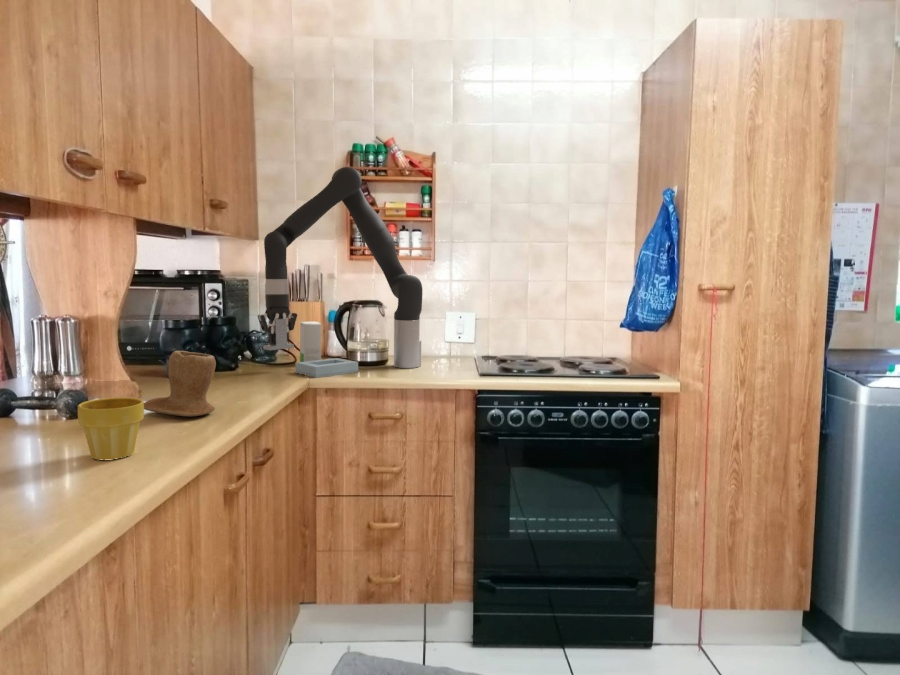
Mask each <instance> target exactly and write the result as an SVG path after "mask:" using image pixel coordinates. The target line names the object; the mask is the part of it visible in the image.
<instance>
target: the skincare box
mask: <svg viewBox="0 0 900 675" xmlns="http://www.w3.org/2000/svg"><path fill="white" fill-rule="evenodd" d="M299 323H300V324H299V325H300V326H299V330H300V331H299V332H300V333H299V335H300V337H299V362H306V361H315V360H322V331H323V330H322V323H320V322H318V321H317V320H316V321H300V322H299Z"/></svg>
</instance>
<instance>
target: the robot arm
mask: <svg viewBox="0 0 900 675" xmlns="http://www.w3.org/2000/svg"><path fill="white" fill-rule="evenodd" d="M362 181H363V180H362V175H361V173H360V172H359V171H358V170H357V169H355V168H354V167H350V166H343V167H341V168H339V169H337V170H335V171H334V172H333V174H332V176H331V179H330V181H329V183H327V185H326V186H325V187H324V188H323V189H322V190H321V191H319V193H317V194H316V195H315V196H313V197H312V198H311V199H309V200H308V201H307V202H304V203H303V204H302V205H301V206H300V207H299V208H297V209H296V210H295V211H294V212H292V213H291V214H290V215H289V216H288V217H287V218H286V219H285V220H284V221H283V222H282V224H280V225H279V226H278V227H277V228H275V229H274V230H272V231H271V232H270V231H269V233H267V234H266V235H265V237H264V239H263V246H264V258H265V266H264V269H265V270H264V272H265V274H264V277H265V280H264V281H265V283H264V295H265V296H264V298H265V312H264V313H262V314H258V315H257V319H258V322H259V325H260V328H261V331H262V332H264V333H267V337H268V339H267V340H268V341H267V342H268V343H269V345H275V334H274V331H275V319H286V323H287V343H289V332H290V331H294V329H295V325H296V321H297V318H298V313H296V312H291V311H290V295H289V294H290V293H289V289H290V288H289V287H290V286H289V280H288V279H289V278H288V266H287V248H288V247H289V246H290V245H291V244H293V243H294V241H296V239H297V238H299V237H300V236H302V235H303V234H304V233H306V232H307V231H308V230H309V229H310V228H312V227H313V225H315V224H316V223H317V222H318V221H319V220H320V219H321V218H322V217H324V215H326V213H327V212H329V211H330V210H331V209H332V208H333V207H335V206H336V205H338V204H339V203H340V202H342V203H343V204H344V206H345V207H346V208H347V210H348V212H349V214H350V215H351V218H352V220H353V222H354V224H355V226H356V228H357V230H358V232H359V234H360V235H361V238H362V240H363V242H364V243H365V245H366V247H367V249H368V250H369V251H370V253H371V255H372V256H373V258H374V260H375V261H376V262H377V264H378V266H379V268H380V269H381V271H382V273H383V275H384V277H385V280H386V281H387V284H388V285H389V286H388V287H389V289H390V291H391V293H392V295H393V296H394V297H395V298H396V299H397V308H396V310H395V311H394V313H393V367H394V368H399V369H400V368H401V369H415V368H418V367H421V366H422V340H421V339H420V320H421V318H420V316H421V314H422V307H423V285H422V284H423V283H422V282H421V280H420V278H419V277H417V276H415V275H410V274H408V273H407V272H406V270H405V269H404V267H403V265H402V264H401V262H400V260H399V257H398V254H397V249H396V244H395V241H394V238H393V236H392V234H391V232H390V231H389V229H388V227H387V225H386V224H385V222H384V220H383V219H382V218H381V217H380V214H378V212H376V210H375V209H374V208H373V207H372V206H371V205H370V202H368V200H367V198H366V197H365V194H364V192H363V190H362V188H361V187H362V184H363V183H362ZM267 319H268V322H267ZM270 322H271V323H273V324H271V323H270Z"/></svg>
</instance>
